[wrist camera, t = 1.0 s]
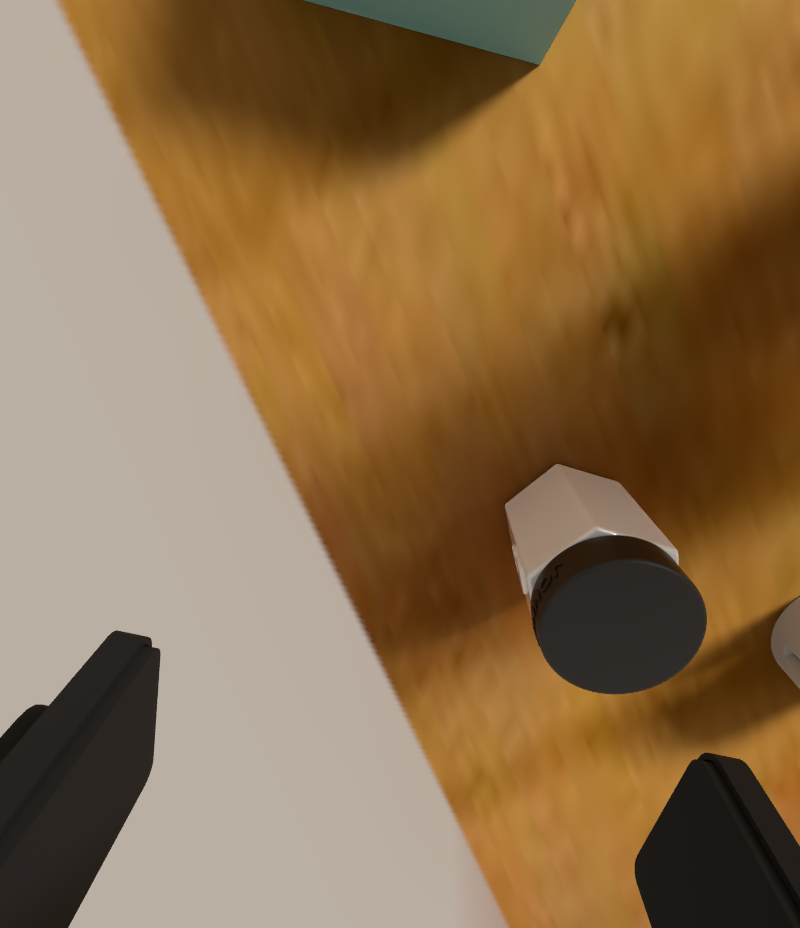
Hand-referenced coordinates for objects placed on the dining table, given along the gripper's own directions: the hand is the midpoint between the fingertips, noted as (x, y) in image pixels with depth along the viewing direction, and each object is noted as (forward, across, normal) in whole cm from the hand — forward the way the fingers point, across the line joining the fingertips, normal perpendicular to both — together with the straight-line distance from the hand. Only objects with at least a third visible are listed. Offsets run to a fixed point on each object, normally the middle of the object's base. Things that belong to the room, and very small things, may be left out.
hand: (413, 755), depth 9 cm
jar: (+28, -12, +7) cm, 31 cm away
